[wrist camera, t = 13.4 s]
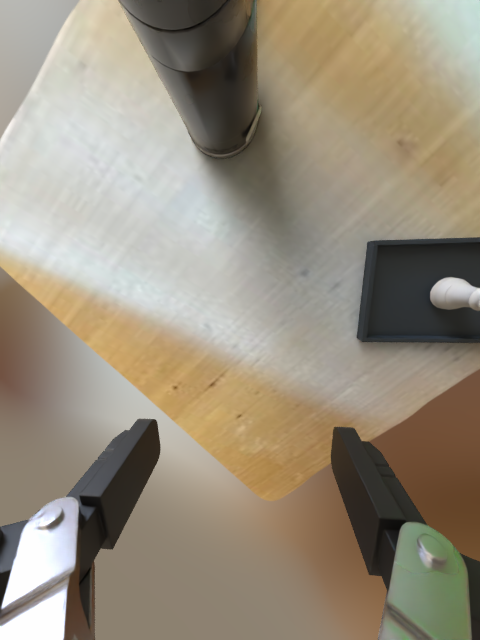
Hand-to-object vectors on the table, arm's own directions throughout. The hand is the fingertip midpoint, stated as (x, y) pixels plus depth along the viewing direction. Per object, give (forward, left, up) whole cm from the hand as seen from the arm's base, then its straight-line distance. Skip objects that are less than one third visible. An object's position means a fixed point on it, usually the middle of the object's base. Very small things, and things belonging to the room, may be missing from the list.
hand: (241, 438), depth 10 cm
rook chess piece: (-3, +27, -26) cm, 37 cm away
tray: (-3, +26, -26) cm, 37 cm away
